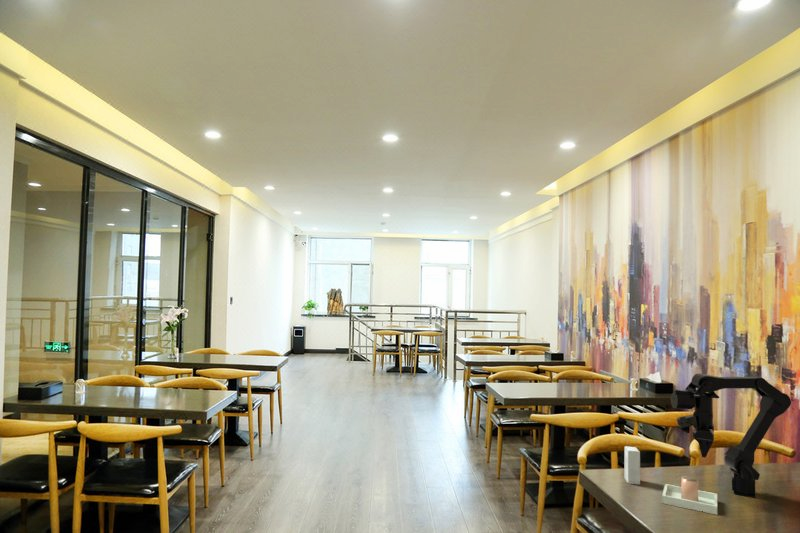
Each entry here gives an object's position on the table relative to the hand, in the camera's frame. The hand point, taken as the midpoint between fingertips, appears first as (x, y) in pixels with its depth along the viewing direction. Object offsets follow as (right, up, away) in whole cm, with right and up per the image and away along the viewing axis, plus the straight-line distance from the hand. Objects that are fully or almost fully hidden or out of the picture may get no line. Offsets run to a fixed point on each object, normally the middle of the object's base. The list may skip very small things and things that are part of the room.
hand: (704, 454), depth 180 cm
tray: (-11, -12, -11) cm, 20 cm away
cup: (-11, -12, -11) cm, 19 cm away
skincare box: (-22, -13, +7) cm, 27 cm away
